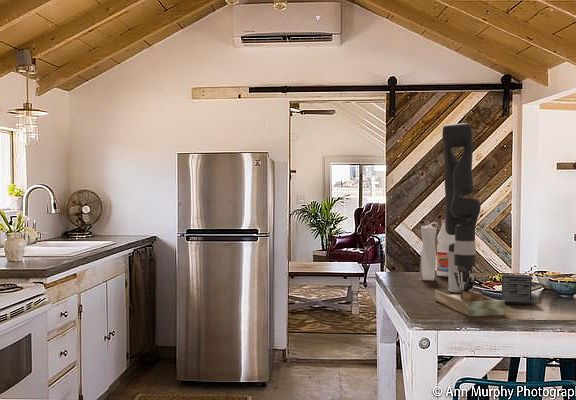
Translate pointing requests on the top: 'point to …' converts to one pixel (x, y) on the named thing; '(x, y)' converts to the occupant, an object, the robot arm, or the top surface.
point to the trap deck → (472, 305)
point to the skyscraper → (428, 253)
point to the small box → (516, 289)
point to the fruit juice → (443, 250)
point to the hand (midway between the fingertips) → (464, 300)
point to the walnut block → (472, 296)
